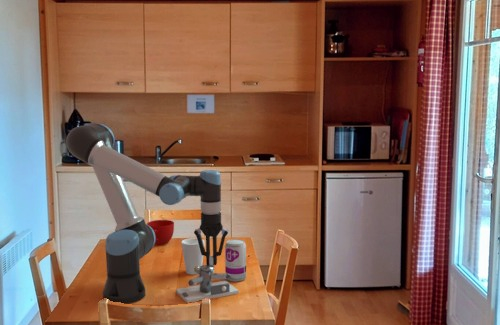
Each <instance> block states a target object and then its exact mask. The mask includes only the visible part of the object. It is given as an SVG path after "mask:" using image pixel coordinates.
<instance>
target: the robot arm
mask: <svg viewBox="0 0 500 325" xmlns="http://www.w3.org/2000/svg"><path fill="white" fill-rule="evenodd" d="M65 142H66V147H67V150H68V152H69V153H70V154H71V155H72V156H73V157H75V158H77V159H78V160H80V161H81V162H83V163H86V164H87V166H88V165H89V166H91V167H92V168H93V170H94V171H93V172H94V175H96V176H95V177H97V181H98V182H99V185H100V188H101V190H102V192H103V195H104V198H105V200H106V202H107V204H108V207H109V209H110V212H111V214H112V216H113V218H114V221H115V223H116V225H115V229H114V231H113V232H111V233H110V234H108V235H107V236H106V238H105V246H104V248H105V261H106V262H105V263H106V280H105V283H104V288H103V291H102V299H103V298H107V299H109V300H110V301H113V302H121V303H127V304H131V303H135V302H138V301H141V300H142V299H144V298H145V297H146V287H145V284H144V282H143V279H142V276H141V271H140V260H141V259H142V258H144V256H146V255H147V254H149V253H150V252H151V251H152V249H153V247H154V246H155V233H154V231H153V229H152V228H151V227H150V226H148V225H147V223H146V221H145V218H144V217H142V216H139V214H138V212H137V209H136V208H135V205H134V203H133V201H132V200H133V199H132V198H131V196H130V193H129V191H128V188H127V186H126V183H125V182H124V181H127V182H130V183H132V184H133V185H136V186H137V187H140V188H141V189H143V190H146V191H147V192H149V193H151V194H153V195H155V196H157V197H158V198H159V199H160V201H161V202H162V203H163V204H165V205H167V206H174V205H176V204H179V203H180V202H181V201H182V200H183V199H186V197H200V212H201V213H200V224H199V228H196V229H195V230H194V231H193V233H194V235H195V238H197V240H198V243H199V247H200V251H201V255H203V257H205V258H206V260H205V262H206V264H205V265H213V266H214V267H215V266H217V263H218V257H219V256H222V253H223V249H224V246H225V245H224V244H225V239H226V237H227V235H228V234H229V230H228V229H226V228H224V226H223V224H222V212H221V211H222V198H221V197H222V192H221V190H222V182H221V173H220V171H218V170H215V169H206V170H200V174H199V175H181V174H177V175H176V174H175V175H170V176H167V175H164V174H163V173H161V172H159V171H157V170H155V169H153V168H151V167H149V166H147V165H146V164H143V163H141V162H139V161H138V160H135V159H133V158H132V157H129V156H127V155H125V154H123V153H121V152H119V151H118V150H116V149H115V147H114V144H115V136H114V133H113V131H112V129H110V127H108V126H106V125H105V124H103V123H95V122H94V123H90V124H86V125H77V126H76V127H74V128H72V129H71V130H70V131H69V132H68V134H67V136H66V140H65ZM220 232H221V235H222V236H221V239H220V244H219V248H218V243H217V242H218V235H219V234H220ZM202 234H203V235H204V236H205V247H204V245H203V241H202V239H203V237H202ZM211 238H212V254H211ZM211 273H215V269H214V270H212V271H211Z"/></svg>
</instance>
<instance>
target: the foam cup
mask: <svg viewBox="0 0 500 325" xmlns="http://www.w3.org/2000/svg"><path fill="white" fill-rule="evenodd" d="M202 241H203V245H204V248H206V240H205V239H203V238H202ZM180 242H181V249H182V250H181V251H182V257H183V262H184V269H185V274H187V275H191V276H195V275H198V274H197V273H196V272H195V271H194V268H195V267H196V266H198V267H200V266H202V265H203V261H204V255H201V251H200V247H199V243H198V240H197V237H189V238H185V239H182V240H181V241H180Z"/></svg>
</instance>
